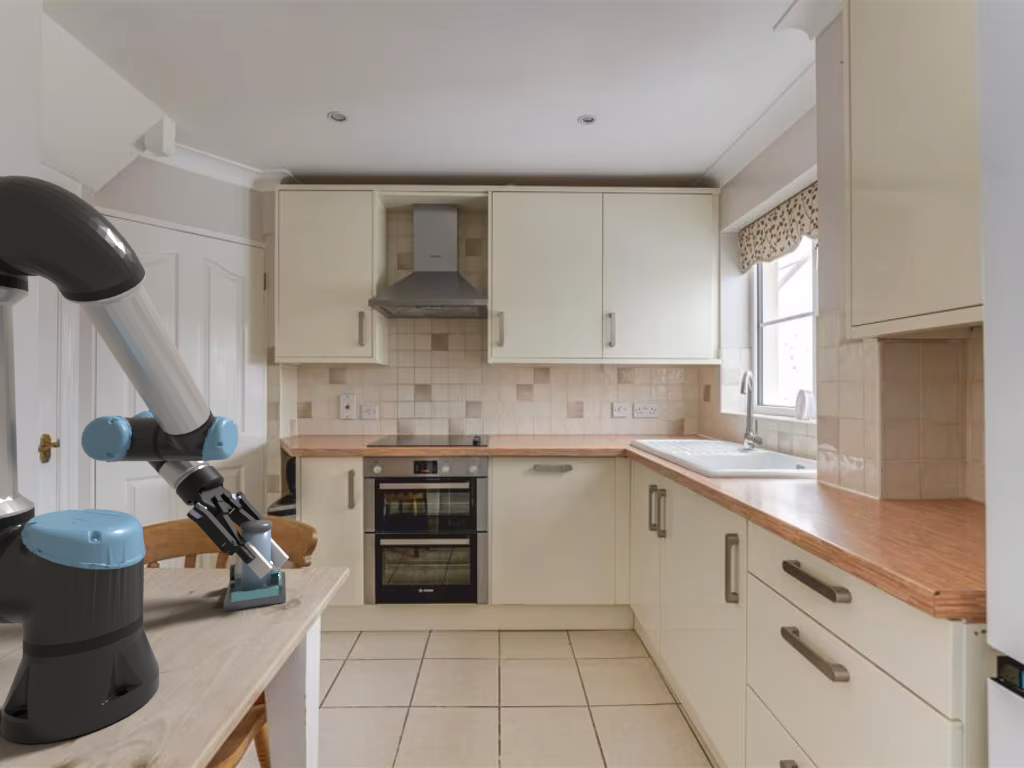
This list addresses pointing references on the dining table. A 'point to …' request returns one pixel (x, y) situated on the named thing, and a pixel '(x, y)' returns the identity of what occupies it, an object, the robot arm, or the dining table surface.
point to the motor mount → (254, 590)
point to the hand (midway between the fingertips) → (275, 567)
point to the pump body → (261, 540)
